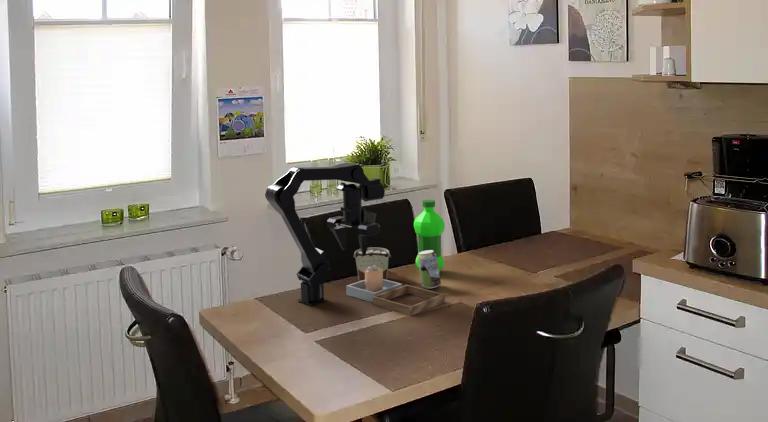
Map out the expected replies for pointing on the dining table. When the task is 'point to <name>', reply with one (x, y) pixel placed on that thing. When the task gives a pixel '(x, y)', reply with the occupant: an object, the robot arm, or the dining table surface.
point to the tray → (361, 293)
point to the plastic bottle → (429, 231)
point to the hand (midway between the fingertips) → (353, 252)
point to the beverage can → (428, 269)
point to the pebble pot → (373, 279)
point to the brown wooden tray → (385, 302)
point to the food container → (372, 261)
